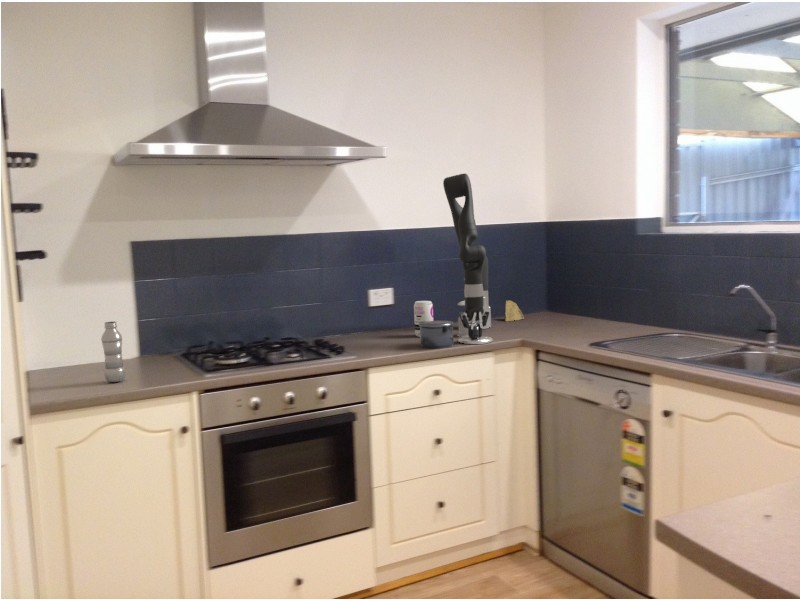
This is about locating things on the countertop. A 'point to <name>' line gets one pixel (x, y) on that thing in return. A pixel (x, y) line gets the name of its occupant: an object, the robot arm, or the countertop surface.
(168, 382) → the countertop surface
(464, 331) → the french press
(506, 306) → the yellow wedge
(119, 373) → the plastic bottle
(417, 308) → the supplement can
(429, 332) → the pot
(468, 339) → the lid
